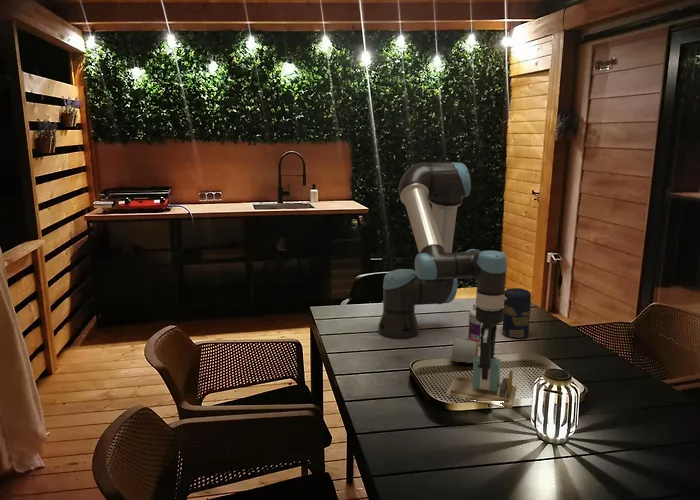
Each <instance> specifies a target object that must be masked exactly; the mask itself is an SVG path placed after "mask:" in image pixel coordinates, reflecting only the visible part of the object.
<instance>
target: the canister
mask: <svg viewBox="0 0 700 500" xmlns="http://www.w3.org/2000/svg"><path fill="white" fill-rule="evenodd" d="M504 297H506V298H507V300H504V307H503V309H504V317H503V322H502V328H501V330H502V333H503V334H504V335H506V336H507V337H510V338H514V339H515V338H517V339H521V338H526V337H527V336H529V332H530V321H531V320H530V318H531V312H532V311H531V305H532V293H531V291H529V290H527V289H525V288H521V287H512V288H507V289H505V295H504Z"/></svg>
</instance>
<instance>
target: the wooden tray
mask: <svg viewBox="0 0 700 500" xmlns="http://www.w3.org/2000/svg"><path fill="white" fill-rule="evenodd" d="M513 377H514V375H513V370H510V371H509V374H508V377H503V378H502V381H501V382H499V388H498V391H491V390H485V389H479V388H473V387H472V379H473V377H466V376H461V375H460V376H459V375H457V376H454V378H453V380H452V381H451V384H450V385H449V387H448V388H447V391H446V394H445V396H446V395H449V396H454V397H458V398H465V399H469V400H476V401H504V403H503V402H502V403H500V404H502V405H503V406H504V407H503V408H508V409H512V408H513V405H514V401H513V399H515V397H516V393H515V392H517V386H515V385H513ZM514 396H515V397H514ZM512 404H513V405H512Z"/></svg>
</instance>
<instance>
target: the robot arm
mask: <svg viewBox="0 0 700 500" xmlns="http://www.w3.org/2000/svg"><path fill="white" fill-rule="evenodd" d="M471 182H472V181H471V177H470V172H469V169H468V167H467V166H466V165H465V164H464V163H463V162H453V161H449V162H447V161H446V162H419V163H416V164H413V165H412V166H410V167H409V168H408V169H406V171H405V172H404V174H403V175H402V177H401V179H400V180H399V185H398V194H399V199H400V202H401V203H402V204H403V205H404V206H405V209H406V212H407V216H408V219H409V223H410V226H411V230H412V234H413V236H414V241H415V243H416V247H417V251H418V253H417V254H416V255H415V258H414V269H412V268H411V269H410V268H407V269H406V268H399V269H394V270H391V271H388V272H387V273H386V274H385V275H384V277H383V283H382V284H383V285H382V289H383V298H382V299H383V302H382V303H383V304H382V305H383V308H382V310H383V311H382V314H381V317H380V321H379V323H378V329H377V330H378V333H379V335H381V336H383V337H386V338H389V339H397V340H399V339H400V340H401V339H411V338H414V337H416V336H418V335H419V333H420V329H419V328H420V327H419V323H418V320H417V316H416V314H415V309H416V306H417V305H418V306H419V305H420V306H421V305H443V304H449V303H452V302H453V300H455V298H456V295H457V293H458V279H475V280H476V281H477V282H476V296H475V297H476V298H475V302H476V305H477V307H476V320H477V321H478V322H481V323H483V324H484V325H482V327H481V332H480V333H481V337H480V339H481V345H479V346H480V348H479V349H480V350H479V351H480V353H479V356H480V365H478V367H479V368H480V388H479V389H485V390H489V389H490V373H491V367H490V360H491V358H494V359H497V357H495V354H496V353H495V350H496V349H495V348H496V336H497V335H496V334H497V330H498V327H497V325H500V324H502V323H503V317H504V309H503V308H504V300H507V298H506V297H504V295H505V290H506V280H507V279H506V278H507V269H508V262H507V255H506V253H505V252H502V251H498V250H483V251H482V250H480V249H475V248H472V249H468V250H466V251H463V252H459V251H458V252H453V245H454V244H453V243H454V236H455V228H456V220H457V212H458V207H459V206H461V205H462V204H463V200H464V198H467V197H469V195H470V193H471V190H472V189H471V188H472V183H471Z"/></svg>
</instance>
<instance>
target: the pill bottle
mask: <svg viewBox="0 0 700 500" xmlns="http://www.w3.org/2000/svg"><path fill="white" fill-rule="evenodd" d="M472 306H473V308H471V309H470V310H469V314H468V315H469V317H468V320H469V321H468V341H474V342H477V343H478V344H479V346H481V339H480V337H481V333H480V332H481V327H482V325H484V324H483V323H481V322H478V321H477V320H476V307H477V305H476V301H474V302H473V305H472Z"/></svg>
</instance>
